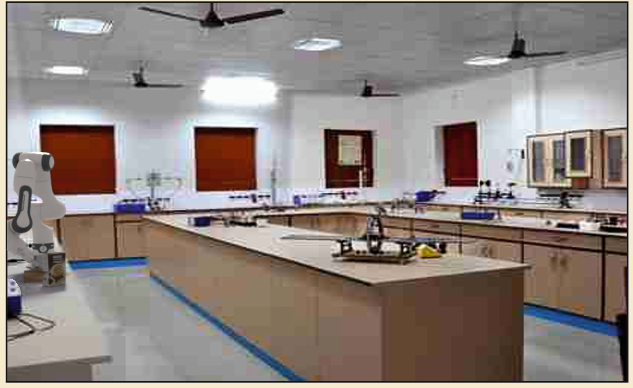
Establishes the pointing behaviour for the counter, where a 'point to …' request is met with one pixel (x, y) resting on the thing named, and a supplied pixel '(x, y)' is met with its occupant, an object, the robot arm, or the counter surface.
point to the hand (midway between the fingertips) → (38, 264)
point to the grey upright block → (40, 260)
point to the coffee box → (54, 269)
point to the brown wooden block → (33, 276)
